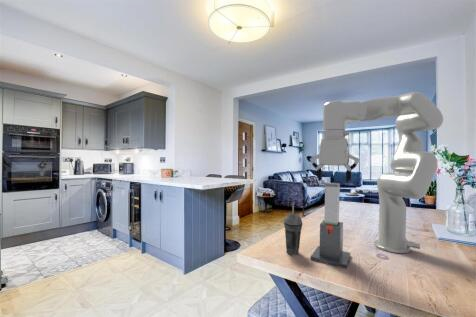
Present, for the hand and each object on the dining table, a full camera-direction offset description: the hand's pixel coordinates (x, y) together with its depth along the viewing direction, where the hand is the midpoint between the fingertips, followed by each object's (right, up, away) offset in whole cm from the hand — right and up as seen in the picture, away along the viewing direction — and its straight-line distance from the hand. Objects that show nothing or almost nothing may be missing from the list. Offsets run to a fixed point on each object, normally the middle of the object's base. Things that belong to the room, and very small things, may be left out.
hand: (333, 180), depth 87 cm
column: (-1, -22, 0) cm, 22 cm away
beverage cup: (-14, -29, +4) cm, 32 cm away
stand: (-1, -29, 0) cm, 29 cm away
